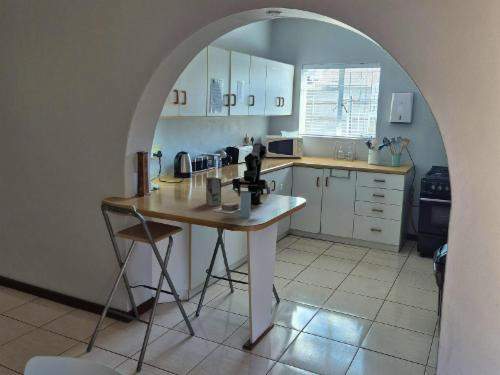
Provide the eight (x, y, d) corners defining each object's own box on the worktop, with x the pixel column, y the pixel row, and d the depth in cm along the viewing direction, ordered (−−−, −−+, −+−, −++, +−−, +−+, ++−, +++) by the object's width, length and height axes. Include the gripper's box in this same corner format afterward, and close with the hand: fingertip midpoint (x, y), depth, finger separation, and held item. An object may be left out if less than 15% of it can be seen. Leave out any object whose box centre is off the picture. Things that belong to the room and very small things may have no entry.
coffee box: (221, 205, 272) (221, 178, 269) (212, 206, 269) (212, 179, 266) (215, 202, 280) (214, 176, 277) (205, 203, 277) (205, 177, 274)
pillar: (242, 215, 248) (242, 192, 246) (250, 215, 248) (250, 192, 245) (240, 217, 244) (241, 193, 242) (249, 217, 243) (249, 194, 241)
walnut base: (230, 205, 270) (230, 200, 270) (246, 208, 264) (246, 202, 263) (213, 211, 257) (213, 205, 257) (230, 214, 251) (230, 208, 250)
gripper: (232, 164, 251) (228, 187, 243) (265, 165, 248) (262, 188, 239) (235, 175, 260) (231, 198, 252) (267, 177, 257) (264, 200, 248)
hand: (247, 196), depth 248 cm, fingers open, 9 cm apart
